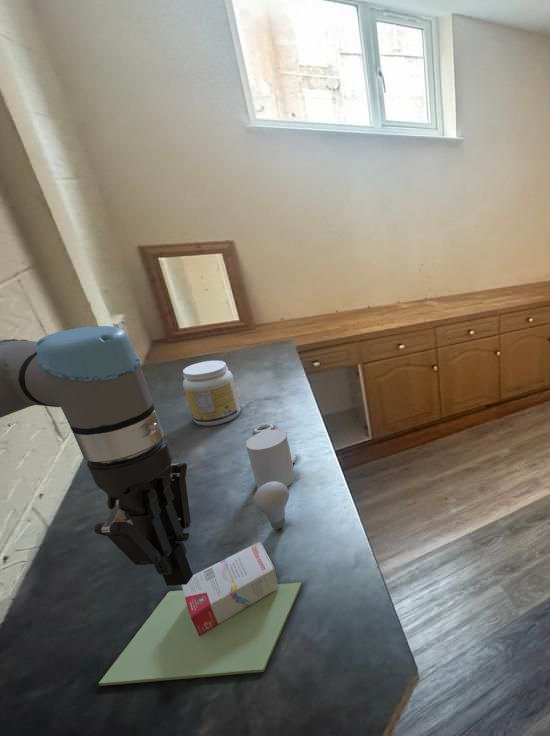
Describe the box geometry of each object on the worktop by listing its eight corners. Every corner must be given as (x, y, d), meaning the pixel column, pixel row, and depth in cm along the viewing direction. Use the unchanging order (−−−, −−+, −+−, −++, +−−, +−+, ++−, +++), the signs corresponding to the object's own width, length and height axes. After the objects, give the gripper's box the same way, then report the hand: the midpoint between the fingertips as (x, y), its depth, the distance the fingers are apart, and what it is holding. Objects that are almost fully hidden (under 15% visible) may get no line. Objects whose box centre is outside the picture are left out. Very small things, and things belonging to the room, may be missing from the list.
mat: (99, 686, 56) (98, 683, 55) (169, 593, 69) (169, 591, 68) (264, 671, 58) (263, 669, 58) (302, 584, 71) (301, 582, 71)
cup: (302, 471, 99) (293, 430, 95) (281, 494, 92) (271, 450, 87) (271, 469, 100) (262, 428, 96) (248, 491, 93) (237, 448, 88)
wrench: (277, 472, 100) (299, 463, 103) (275, 467, 99) (298, 458, 102) (252, 430, 116) (272, 424, 119) (250, 425, 115) (271, 419, 119)
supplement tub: (203, 409, 126) (189, 361, 120) (247, 405, 130) (235, 357, 124) (187, 430, 115) (170, 377, 109) (235, 424, 119) (221, 373, 113)
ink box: (196, 638, 61) (280, 590, 69) (188, 616, 59) (275, 569, 67) (187, 600, 67) (266, 560, 75) (179, 578, 65) (260, 539, 73)
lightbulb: (288, 512, 87) (278, 471, 83) (300, 526, 83) (291, 483, 79) (257, 528, 82) (245, 485, 78) (269, 544, 79) (257, 500, 75)
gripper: (116, 480, 45) (176, 622, 53) (192, 419, 57) (231, 543, 65) (43, 483, 44) (116, 626, 53) (135, 421, 56) (182, 546, 65)
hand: (180, 580), depth 59 cm, fingers closed
